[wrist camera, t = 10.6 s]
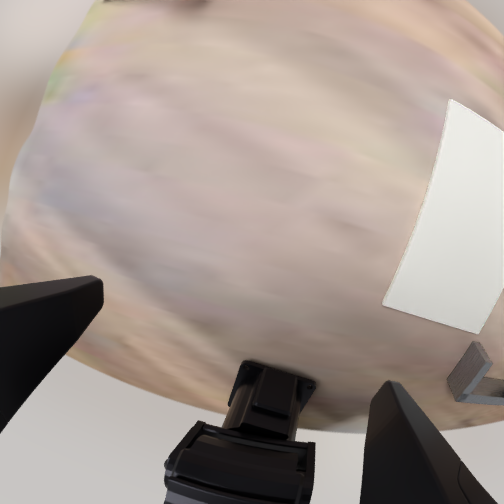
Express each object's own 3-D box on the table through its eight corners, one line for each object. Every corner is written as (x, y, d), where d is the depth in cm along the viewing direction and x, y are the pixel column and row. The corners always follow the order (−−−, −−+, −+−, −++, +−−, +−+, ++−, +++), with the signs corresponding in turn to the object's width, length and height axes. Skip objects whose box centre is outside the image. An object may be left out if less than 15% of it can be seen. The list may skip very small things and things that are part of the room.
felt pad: (476, 332, 17) (478, 334, 17) (381, 302, 18) (382, 305, 18) (540, 163, 12) (542, 163, 11) (448, 99, 13) (451, 98, 13)
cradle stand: (510, 388, 18) (519, 405, 15) (446, 379, 19) (455, 401, 16) (532, 357, 16) (544, 373, 13) (473, 341, 17) (485, 362, 15)
